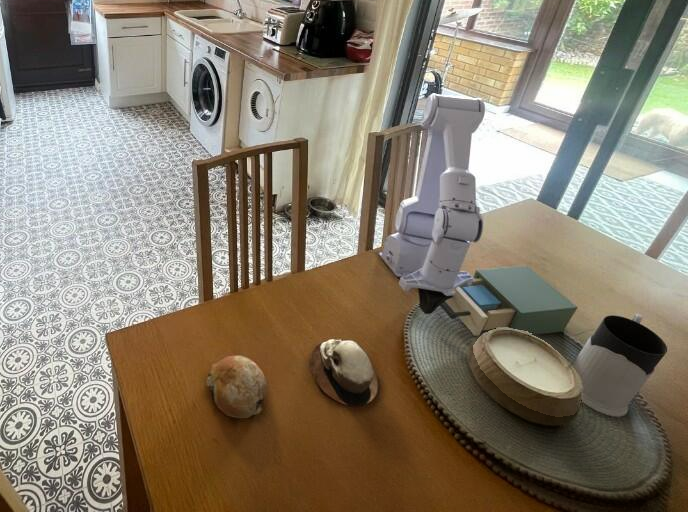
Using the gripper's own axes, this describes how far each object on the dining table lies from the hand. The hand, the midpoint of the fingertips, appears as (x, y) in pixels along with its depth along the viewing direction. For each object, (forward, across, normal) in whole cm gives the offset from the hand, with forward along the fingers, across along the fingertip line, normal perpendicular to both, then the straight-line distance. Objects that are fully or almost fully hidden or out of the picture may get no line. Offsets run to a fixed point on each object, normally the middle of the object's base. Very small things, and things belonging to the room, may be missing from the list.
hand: (425, 310), depth 86 cm
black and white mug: (+3, +24, -16) cm, 29 cm away
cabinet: (+3, +22, 0) cm, 22 cm away
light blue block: (+1, +12, 0) cm, 12 cm away
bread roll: (+3, -43, -10) cm, 45 cm away
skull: (+3, -22, -9) cm, 24 cm away
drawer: (+2, +11, 0) cm, 12 cm away
